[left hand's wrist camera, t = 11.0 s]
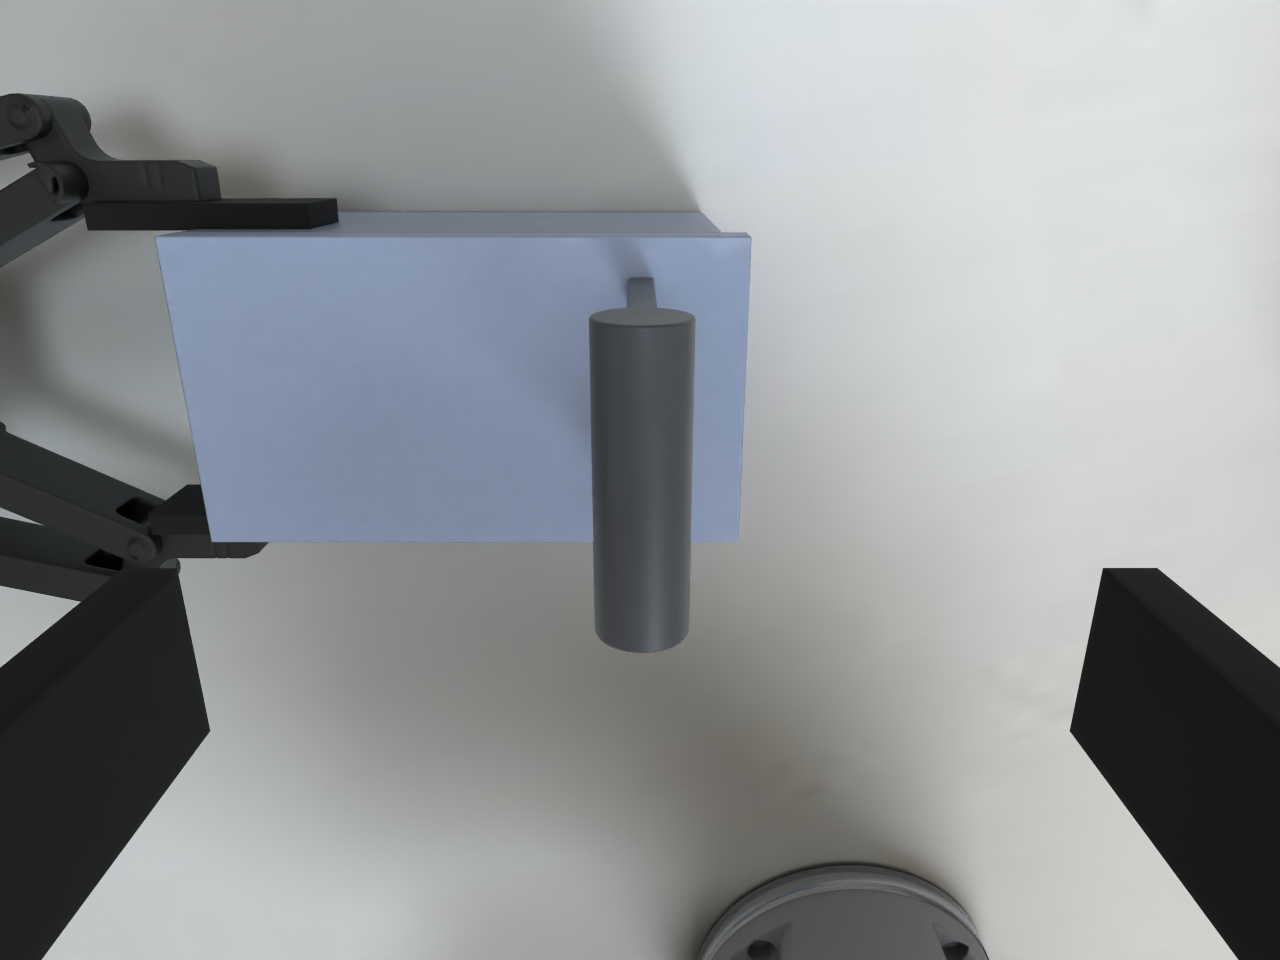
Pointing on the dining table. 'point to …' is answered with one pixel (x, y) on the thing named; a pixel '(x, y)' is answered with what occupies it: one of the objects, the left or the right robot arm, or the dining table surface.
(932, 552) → the dining table surface
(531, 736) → the dining table surface
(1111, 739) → the left robot arm
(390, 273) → the lid
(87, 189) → the right robot arm
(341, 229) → the chest
